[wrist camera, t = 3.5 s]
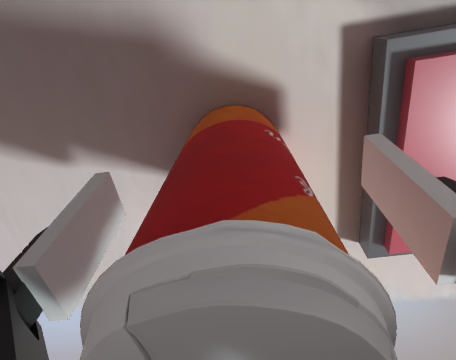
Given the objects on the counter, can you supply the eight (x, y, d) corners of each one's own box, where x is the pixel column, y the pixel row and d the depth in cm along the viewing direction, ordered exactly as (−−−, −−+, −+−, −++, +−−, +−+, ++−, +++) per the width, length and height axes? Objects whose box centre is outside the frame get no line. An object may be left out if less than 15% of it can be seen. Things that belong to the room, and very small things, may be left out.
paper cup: (275, 209, 21) (335, 489, 9) (166, 187, 20) (60, 459, 8) (316, 100, 17) (526, 320, 5) (183, 68, 16) (34, 231, 4)
